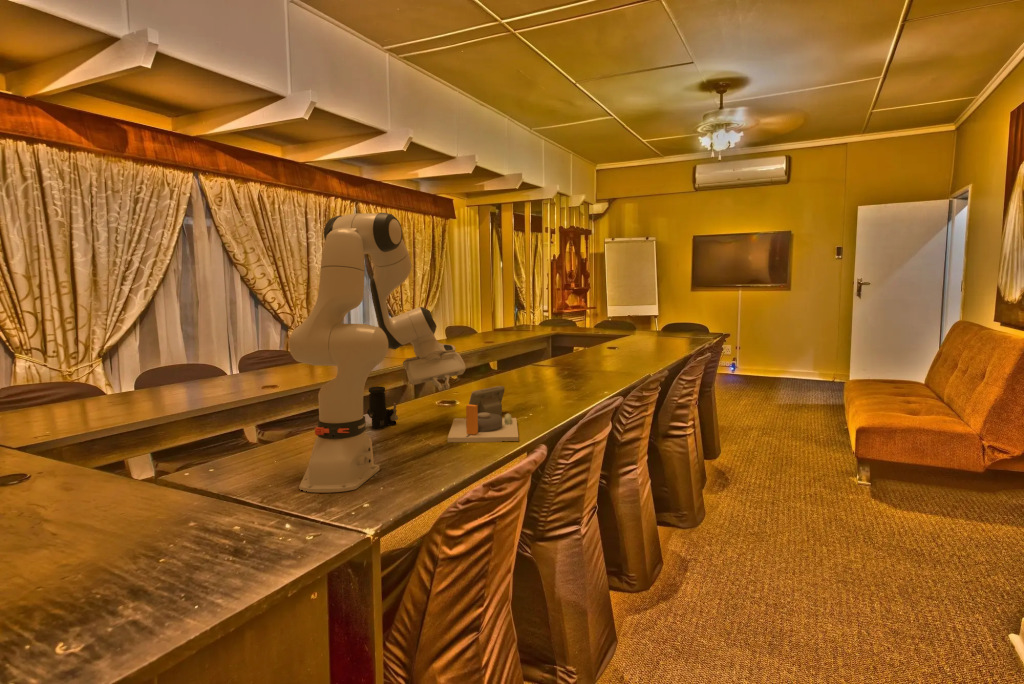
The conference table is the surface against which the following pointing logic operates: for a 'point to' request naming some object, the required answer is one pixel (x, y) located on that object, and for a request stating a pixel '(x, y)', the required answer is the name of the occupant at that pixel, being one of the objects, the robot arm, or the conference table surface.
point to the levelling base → (484, 432)
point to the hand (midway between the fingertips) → (444, 389)
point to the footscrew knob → (481, 420)
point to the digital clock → (488, 400)
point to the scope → (380, 409)
